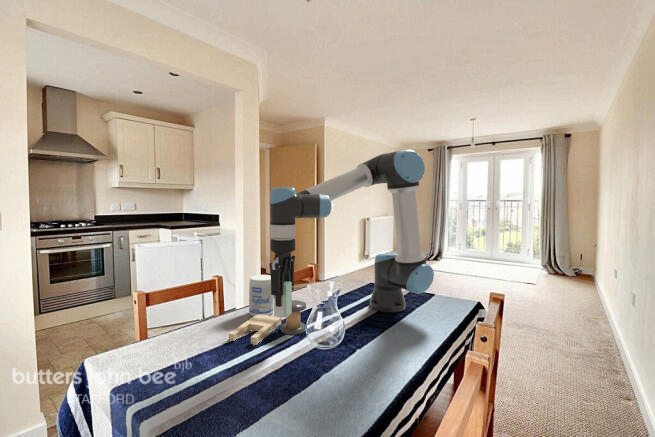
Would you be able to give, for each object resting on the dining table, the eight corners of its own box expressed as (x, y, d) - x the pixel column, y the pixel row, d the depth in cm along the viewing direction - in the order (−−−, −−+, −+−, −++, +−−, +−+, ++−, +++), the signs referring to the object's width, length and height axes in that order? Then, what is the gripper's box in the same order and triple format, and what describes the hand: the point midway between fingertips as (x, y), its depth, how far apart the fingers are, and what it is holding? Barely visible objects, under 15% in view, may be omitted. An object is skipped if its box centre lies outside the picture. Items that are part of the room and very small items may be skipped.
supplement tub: (251, 319, 120) (251, 281, 119) (247, 311, 129) (247, 275, 128) (276, 316, 124) (276, 279, 123) (270, 308, 132) (270, 273, 131)
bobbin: (286, 322, 117) (286, 299, 116) (309, 326, 114) (309, 301, 114) (275, 332, 108) (275, 307, 108) (300, 336, 106) (300, 310, 105)
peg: (280, 311, 100) (279, 280, 99) (291, 313, 99) (291, 281, 98) (274, 316, 96) (274, 284, 96) (286, 317, 95) (286, 285, 94)
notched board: (257, 320, 119) (257, 314, 119) (281, 323, 116) (281, 317, 116) (228, 341, 102) (228, 333, 101) (256, 345, 99) (256, 338, 99)
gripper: (283, 234, 105) (283, 303, 107) (257, 241, 89) (258, 322, 91) (304, 235, 103) (304, 305, 105) (282, 242, 87) (282, 325, 88)
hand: (283, 313), depth 98 cm, fingers closed on peg, 4 cm apart
